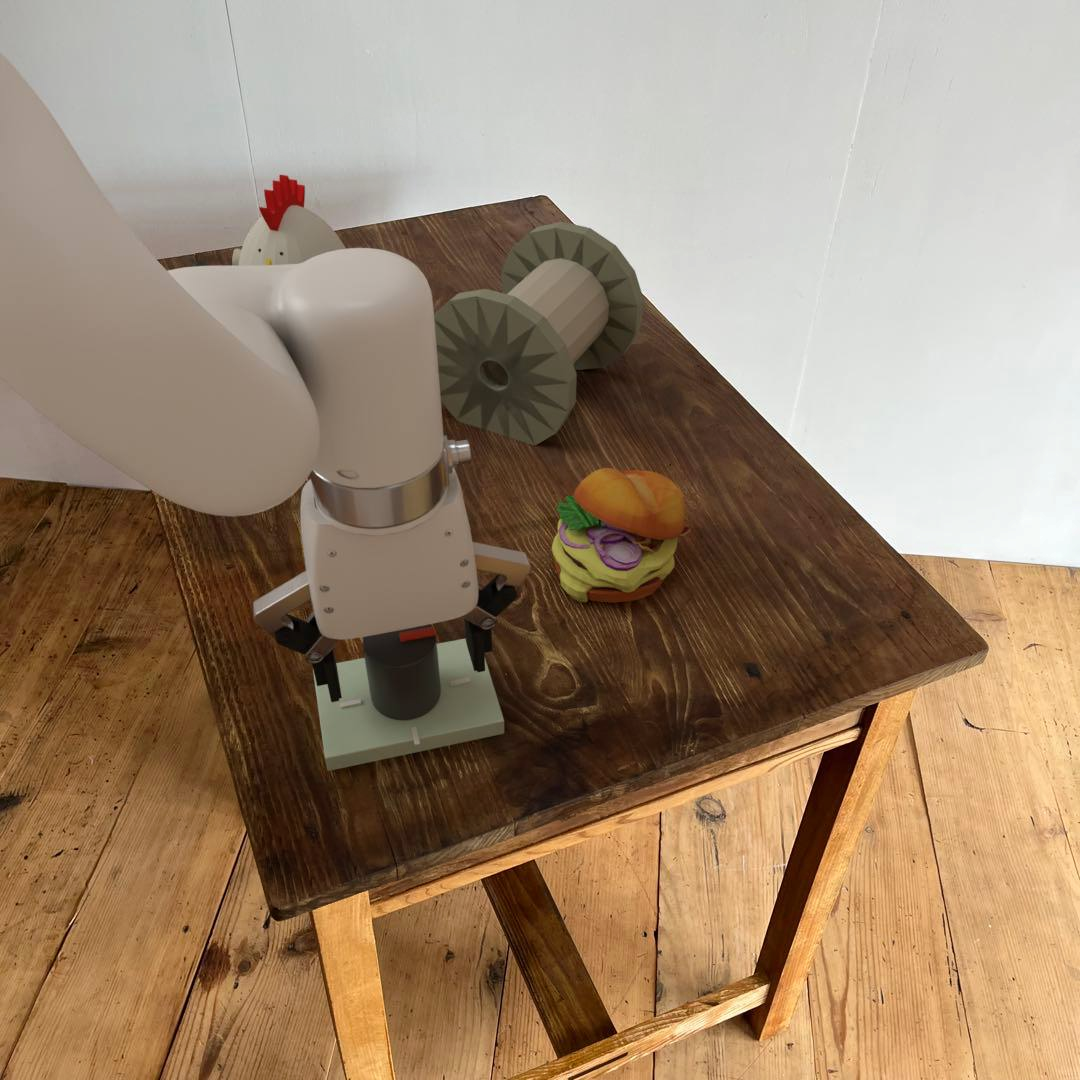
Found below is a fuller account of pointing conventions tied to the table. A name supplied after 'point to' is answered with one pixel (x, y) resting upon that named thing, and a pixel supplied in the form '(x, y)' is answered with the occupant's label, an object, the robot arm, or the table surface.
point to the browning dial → (403, 672)
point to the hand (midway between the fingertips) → (405, 670)
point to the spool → (537, 332)
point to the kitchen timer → (286, 230)
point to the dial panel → (372, 736)
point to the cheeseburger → (618, 535)
